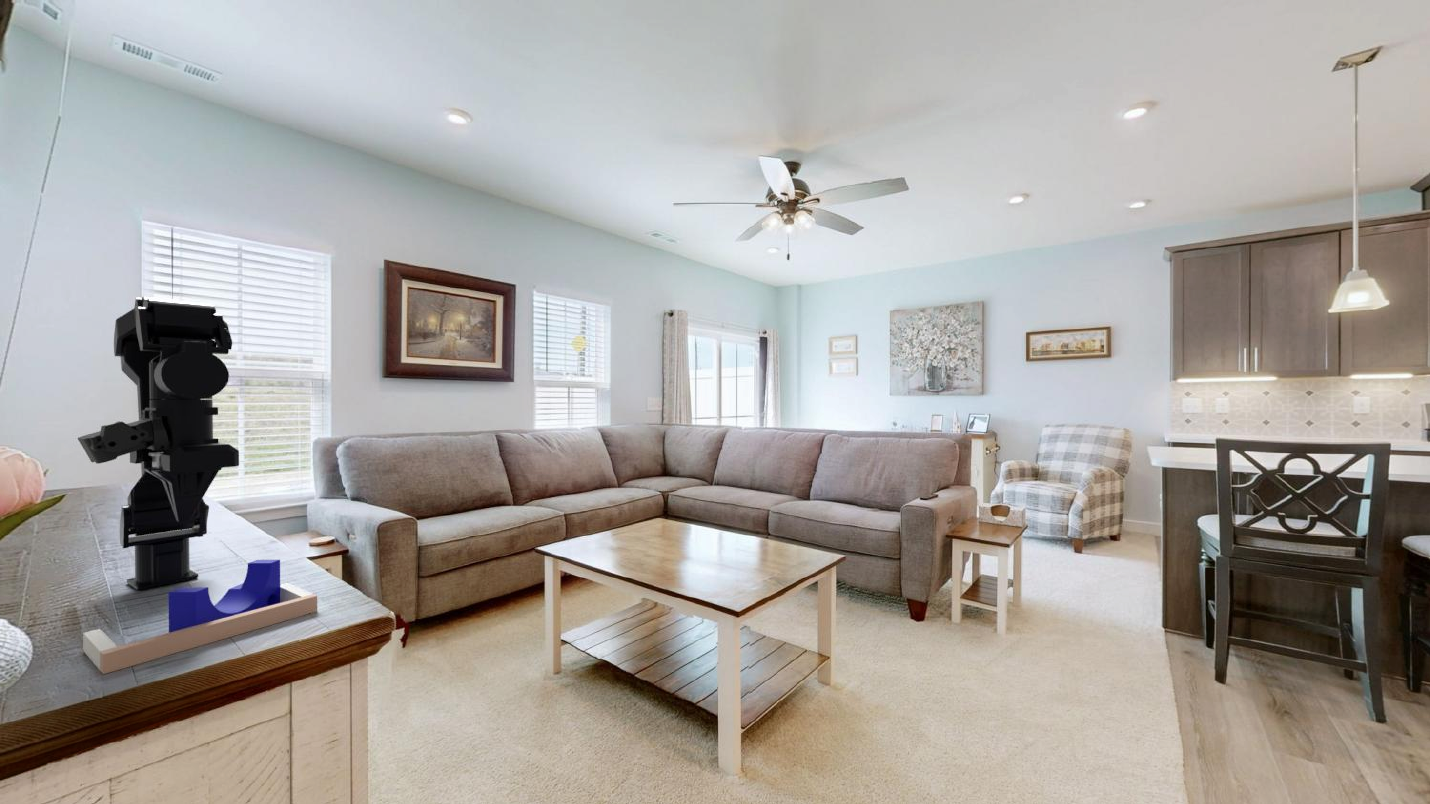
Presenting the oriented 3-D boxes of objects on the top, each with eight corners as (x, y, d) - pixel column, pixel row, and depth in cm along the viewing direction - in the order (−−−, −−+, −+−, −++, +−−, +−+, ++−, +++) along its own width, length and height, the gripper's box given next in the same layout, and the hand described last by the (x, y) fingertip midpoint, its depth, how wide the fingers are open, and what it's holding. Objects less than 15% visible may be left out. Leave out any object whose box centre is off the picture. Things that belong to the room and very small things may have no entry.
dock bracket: (83, 651, 58) (83, 632, 58) (287, 597, 74) (287, 582, 74) (103, 674, 53) (102, 654, 53) (317, 611, 69) (317, 595, 69)
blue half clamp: (246, 604, 72) (245, 559, 72) (280, 603, 72) (280, 559, 72) (155, 645, 60) (154, 592, 60) (196, 645, 60) (195, 592, 60)
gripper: (69, 400, 67) (71, 525, 67) (104, 399, 57) (106, 546, 57) (191, 399, 76) (192, 509, 76) (239, 399, 66) (241, 525, 66)
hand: (183, 521), depth 69 cm, fingers closed
